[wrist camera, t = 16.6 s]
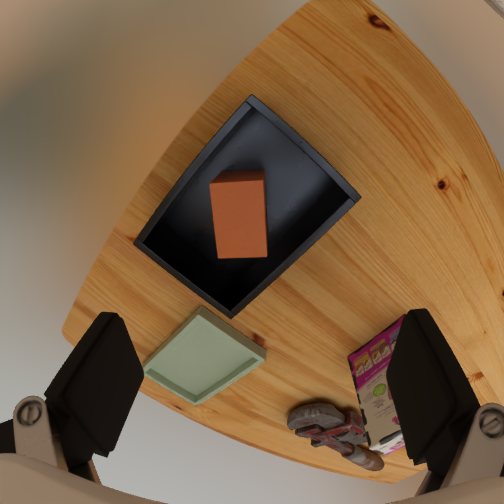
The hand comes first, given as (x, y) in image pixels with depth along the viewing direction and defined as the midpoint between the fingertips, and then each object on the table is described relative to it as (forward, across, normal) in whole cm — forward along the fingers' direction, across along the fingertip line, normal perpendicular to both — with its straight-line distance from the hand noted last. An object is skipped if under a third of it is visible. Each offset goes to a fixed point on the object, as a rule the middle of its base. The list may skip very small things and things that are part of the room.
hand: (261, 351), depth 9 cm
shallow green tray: (+24, +12, +26) cm, 37 cm away
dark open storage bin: (+24, +3, +2) cm, 24 cm away
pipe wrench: (+24, -17, +52) cm, 60 cm away
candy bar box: (+24, -16, +24) cm, 38 cm away
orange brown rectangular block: (+23, +3, +2) cm, 23 cm away
